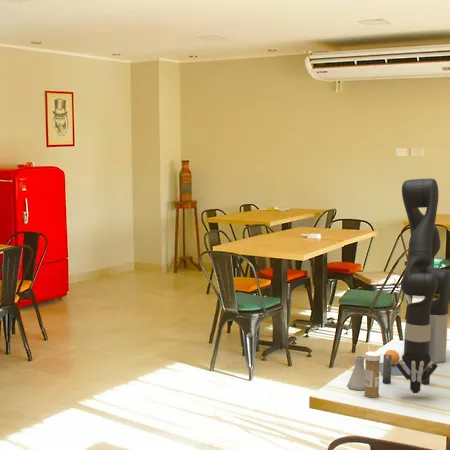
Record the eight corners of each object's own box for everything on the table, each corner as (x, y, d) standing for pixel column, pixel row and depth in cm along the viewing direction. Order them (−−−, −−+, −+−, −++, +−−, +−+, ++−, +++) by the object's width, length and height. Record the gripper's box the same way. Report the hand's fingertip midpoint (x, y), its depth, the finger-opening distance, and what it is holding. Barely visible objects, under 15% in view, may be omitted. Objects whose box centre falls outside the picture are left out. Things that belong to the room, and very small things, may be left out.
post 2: (420, 382, 233) (421, 355, 232) (428, 382, 233) (429, 355, 232) (422, 384, 230) (423, 357, 229) (430, 384, 230) (431, 357, 229)
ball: (382, 363, 253) (382, 348, 253) (397, 364, 253) (397, 348, 253) (385, 366, 248) (385, 350, 248) (400, 366, 248) (401, 351, 248)
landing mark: (375, 363, 252) (375, 362, 252) (412, 364, 252) (412, 363, 252) (381, 375, 239) (381, 374, 239) (420, 376, 239) (420, 375, 239)
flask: (370, 392, 223) (371, 361, 222) (346, 390, 225) (347, 359, 224) (370, 384, 230) (371, 354, 229) (347, 382, 232) (348, 352, 231)
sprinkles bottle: (381, 397, 218) (383, 354, 217) (367, 398, 217) (369, 355, 216) (375, 392, 223) (376, 350, 221) (361, 393, 222) (362, 351, 220)
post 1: (381, 381, 233) (382, 354, 232) (389, 381, 233) (390, 354, 232) (383, 383, 231) (384, 356, 230) (391, 384, 231) (392, 357, 230)
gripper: (436, 334, 220) (433, 388, 222) (392, 333, 221) (390, 387, 223) (442, 341, 213) (439, 397, 215) (397, 340, 213) (395, 396, 215)
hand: (414, 392), depth 219 cm, fingers closed
